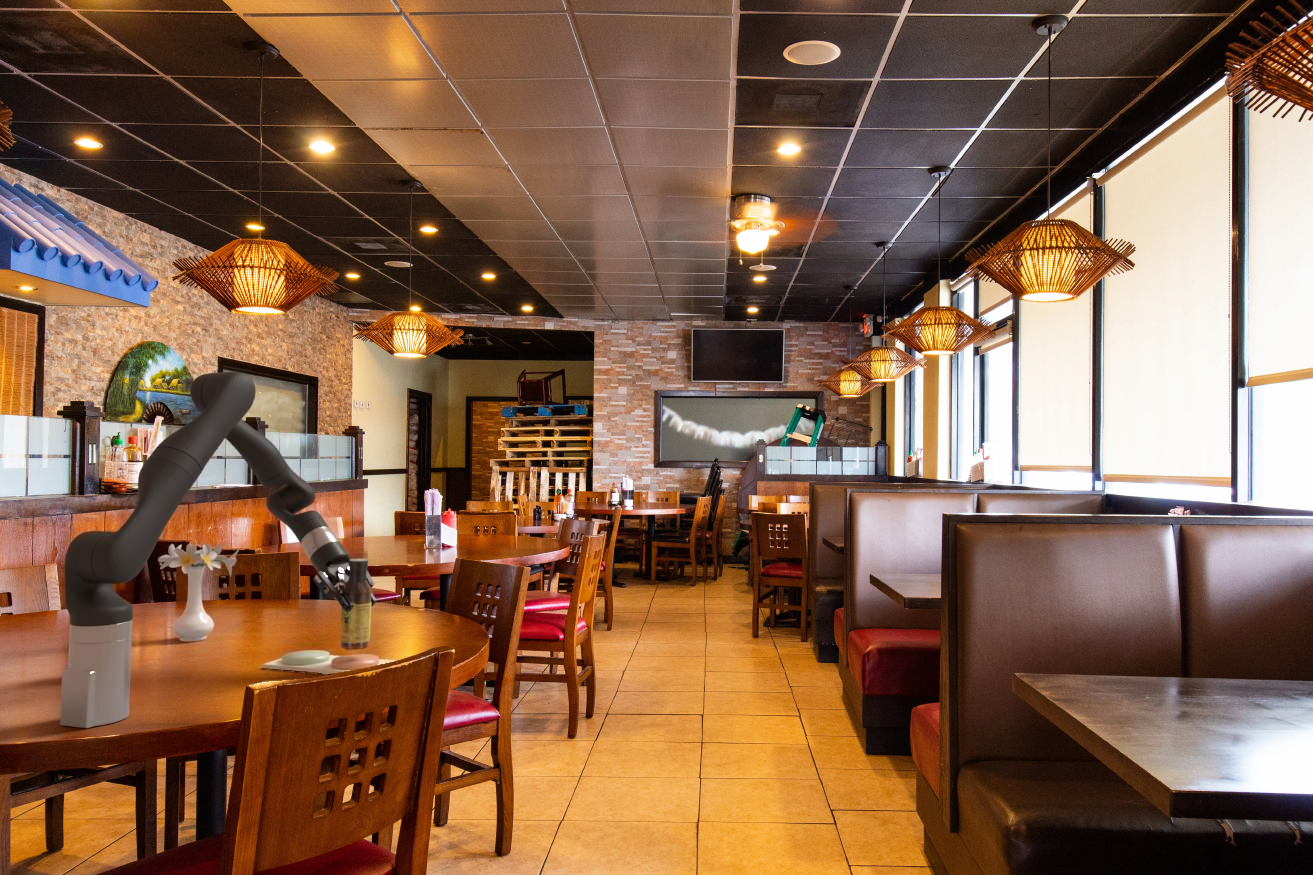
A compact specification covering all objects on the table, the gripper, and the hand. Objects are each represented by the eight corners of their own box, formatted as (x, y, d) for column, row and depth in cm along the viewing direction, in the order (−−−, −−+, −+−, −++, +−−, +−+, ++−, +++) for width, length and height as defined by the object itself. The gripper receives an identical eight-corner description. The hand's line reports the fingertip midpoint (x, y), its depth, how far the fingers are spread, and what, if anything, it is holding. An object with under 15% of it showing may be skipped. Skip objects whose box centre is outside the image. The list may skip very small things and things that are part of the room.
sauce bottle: (339, 645, 183) (342, 557, 184) (368, 643, 186) (371, 557, 186) (341, 652, 177) (344, 561, 178) (371, 649, 180) (374, 560, 180)
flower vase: (240, 638, 211) (244, 542, 212) (159, 647, 199) (163, 546, 201) (228, 630, 221) (231, 539, 222) (150, 639, 209) (154, 542, 210)
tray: (364, 677, 173) (364, 667, 174) (262, 668, 180) (263, 658, 180) (395, 664, 185) (396, 655, 185) (299, 656, 192) (299, 647, 192)
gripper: (308, 542, 179) (346, 600, 173) (357, 537, 192) (394, 591, 186) (290, 564, 181) (327, 623, 175) (340, 558, 194) (376, 612, 188)
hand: (362, 606), depth 181 cm, fingers closed on sauce bottle, 6 cm apart
